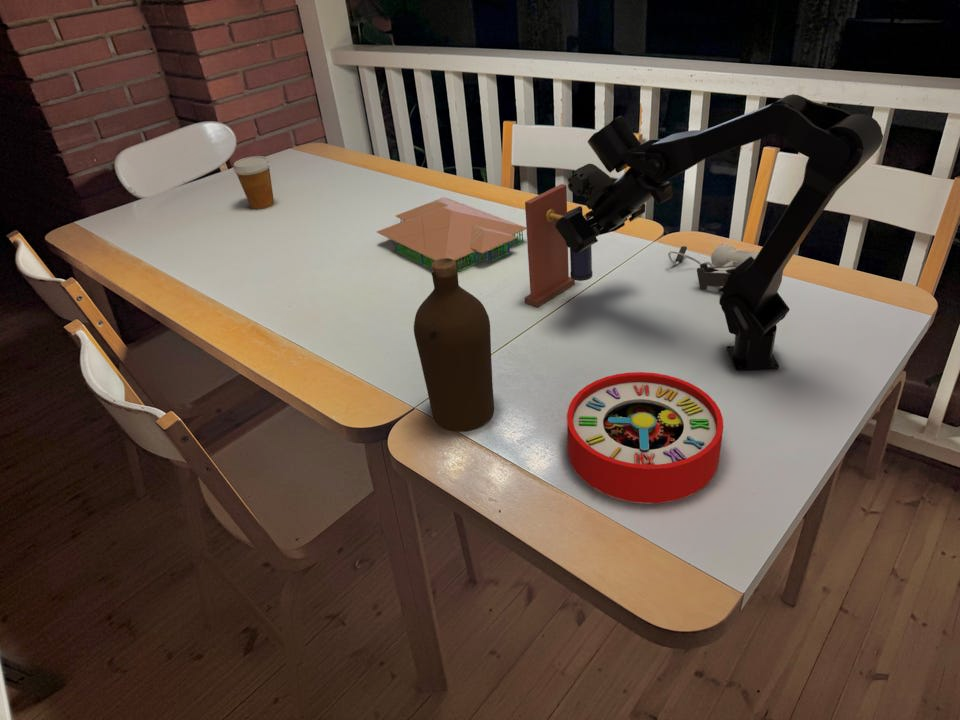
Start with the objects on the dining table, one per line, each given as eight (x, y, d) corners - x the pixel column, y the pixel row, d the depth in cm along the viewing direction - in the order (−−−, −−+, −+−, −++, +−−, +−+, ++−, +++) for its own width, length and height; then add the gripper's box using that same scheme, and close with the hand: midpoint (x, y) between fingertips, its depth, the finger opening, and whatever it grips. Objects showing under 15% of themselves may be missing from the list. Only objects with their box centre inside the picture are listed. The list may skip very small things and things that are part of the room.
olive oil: (502, 430, 100) (487, 276, 87) (429, 440, 100) (403, 286, 86) (494, 387, 109) (479, 241, 95) (427, 396, 109) (402, 251, 95)
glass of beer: (237, 211, 186) (224, 167, 180) (257, 197, 194) (245, 155, 187) (268, 212, 183) (256, 167, 177) (286, 198, 191) (275, 155, 184)
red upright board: (590, 289, 133) (589, 188, 122) (552, 313, 126) (548, 209, 115) (562, 279, 137) (559, 181, 126) (524, 302, 131) (518, 201, 120)
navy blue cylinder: (579, 269, 129) (577, 200, 122) (597, 274, 127) (595, 204, 119) (560, 280, 126) (557, 210, 119) (578, 286, 124) (575, 215, 116)
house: (454, 283, 140) (449, 246, 135) (368, 239, 162) (361, 206, 158) (537, 245, 151) (535, 209, 147) (446, 209, 173) (442, 177, 169)
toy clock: (714, 373, 97) (733, 472, 81) (710, 405, 101) (728, 507, 84) (570, 370, 101) (562, 465, 85) (571, 402, 104) (563, 499, 88)
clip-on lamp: (656, 284, 138) (733, 296, 123) (650, 255, 135) (728, 264, 121) (694, 259, 143) (773, 268, 128) (689, 230, 140) (769, 236, 125)
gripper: (632, 136, 117) (581, 188, 130) (563, 170, 106) (514, 222, 119) (671, 190, 116) (615, 236, 129) (604, 229, 106) (551, 275, 119)
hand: (574, 241), depth 124 cm, fingers closed on navy blue cylinder, 4 cm apart
